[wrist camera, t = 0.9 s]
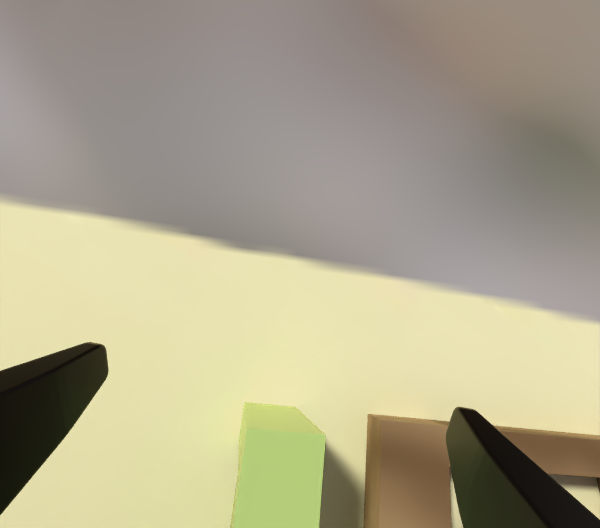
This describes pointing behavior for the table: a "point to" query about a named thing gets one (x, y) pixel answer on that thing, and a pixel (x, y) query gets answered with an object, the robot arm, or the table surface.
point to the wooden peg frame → (447, 467)
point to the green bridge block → (278, 469)
